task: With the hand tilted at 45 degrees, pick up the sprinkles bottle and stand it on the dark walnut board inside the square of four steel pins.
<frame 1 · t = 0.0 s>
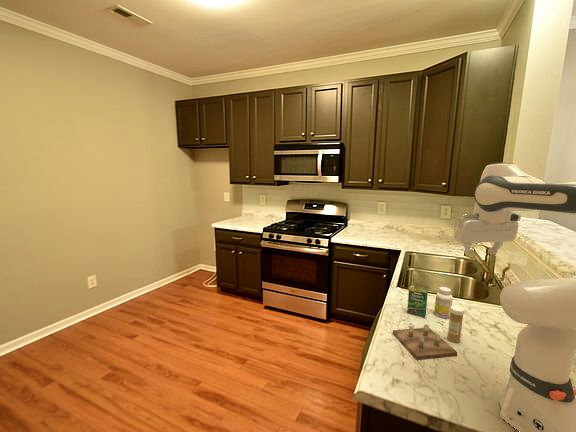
hand: (480, 253, 93), 39 cm above the worktop, tool pointing down, fingers open, 8 cm apart
pin board: (422, 344, 107), on the worktop
coffee box: (415, 314, 130), on the worktop
supplement bottle: (442, 315, 130), on the worktop
sprinkles bottle: (453, 340, 111), on the worktop
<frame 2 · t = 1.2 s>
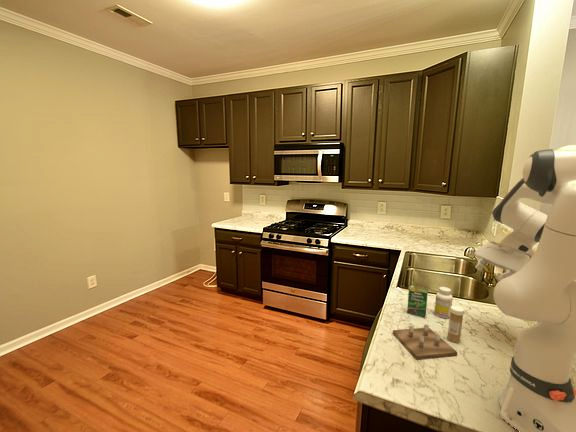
hand: (487, 273, 108), 27 cm above the worktop, tool tilted 45°, fingers open, 8 cm apart
nothing on the worktop moved.
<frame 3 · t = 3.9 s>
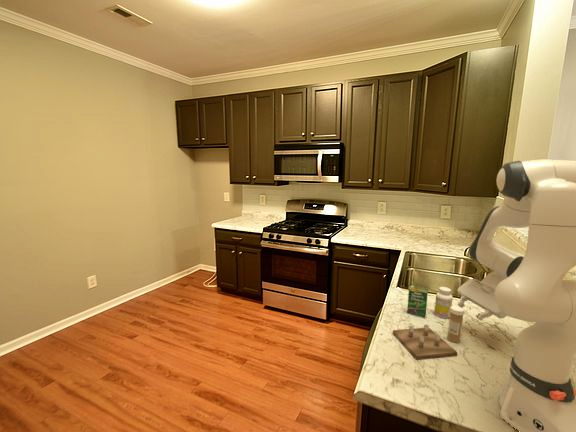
hand: (468, 312, 109), 11 cm above the worktop, tool tilted 45°, fingers open, 8 cm apart
nothing on the worktop moved.
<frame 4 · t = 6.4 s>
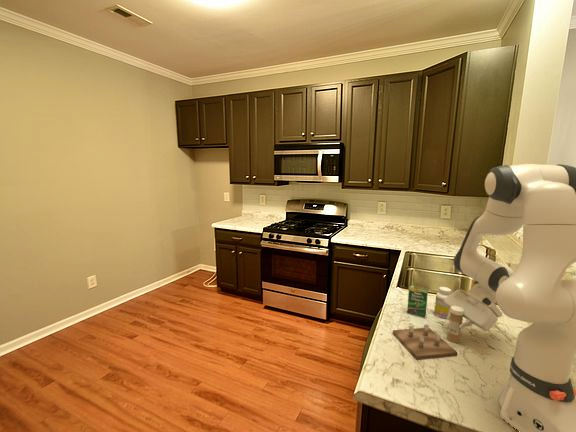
hand: (454, 323, 109), 7 cm above the worktop, tool tilted 45°, fingers closed on sprinkles bottle, 4 cm apart
sprinkles bottle: (453, 340, 111), on the worktop, touching gripper
everything else where it was.
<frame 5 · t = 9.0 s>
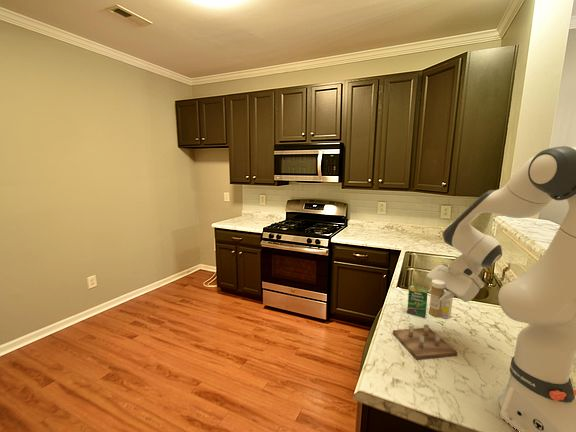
hand: (435, 297, 105), 19 cm above the worktop, tool tilted 45°, fingers closed on sprinkles bottle, 4 cm apart
sprinkles bottle: (435, 315, 106), point 12 cm above the worktop, touching gripper
everything else where it was.
when the fingers open (10 cm above the worktop, at t = 12.0 s): sprinkles bottle stays where it is, resting on pin board.
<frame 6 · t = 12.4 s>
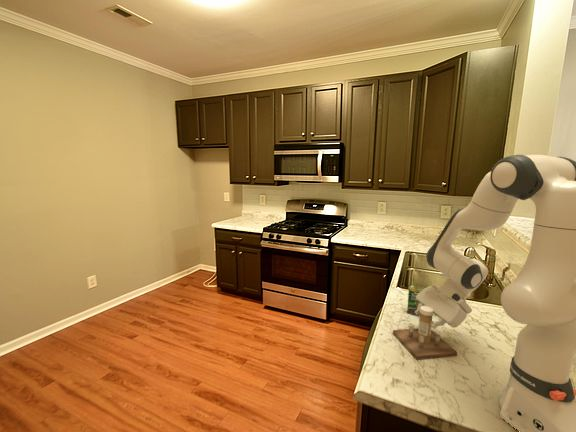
hand: (423, 320, 106), 10 cm above the worktop, tool tilted 45°, fingers open, 8 cm apart
sprinkles bottle: (423, 341, 107), point 1 cm above the worktop, touching pin board
everything else where it was.
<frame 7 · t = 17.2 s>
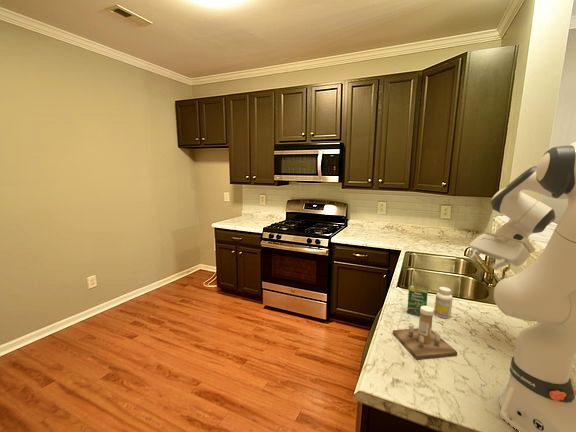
hand: (482, 264, 106), 31 cm above the worktop, tool tilted 45°, fingers open, 8 cm apart
nothing on the worktop moved.
at the end: sprinkles bottle 0.1 cm off-centre on the pin board, point 1.3 cm above the pin board's base; sprinkles bottle tilted 0°; the gripper is holding nothing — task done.
